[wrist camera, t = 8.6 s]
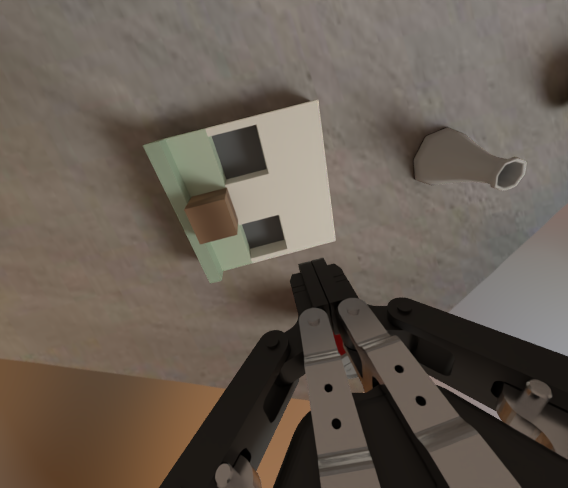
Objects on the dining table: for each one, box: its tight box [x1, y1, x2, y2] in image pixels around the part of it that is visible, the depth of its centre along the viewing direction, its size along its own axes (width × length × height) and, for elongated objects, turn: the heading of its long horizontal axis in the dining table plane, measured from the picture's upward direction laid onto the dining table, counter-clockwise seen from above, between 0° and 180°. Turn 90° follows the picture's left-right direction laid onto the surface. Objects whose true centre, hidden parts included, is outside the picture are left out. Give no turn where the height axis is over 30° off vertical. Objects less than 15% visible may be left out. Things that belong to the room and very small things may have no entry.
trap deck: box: [143, 100, 336, 283], centre depth 28 cm, size 17×16×5 cm
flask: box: [414, 127, 527, 191], centre depth 27 cm, size 7×7×10 cm
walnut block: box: [184, 188, 238, 244], centre depth 26 cm, size 4×4×4 cm
